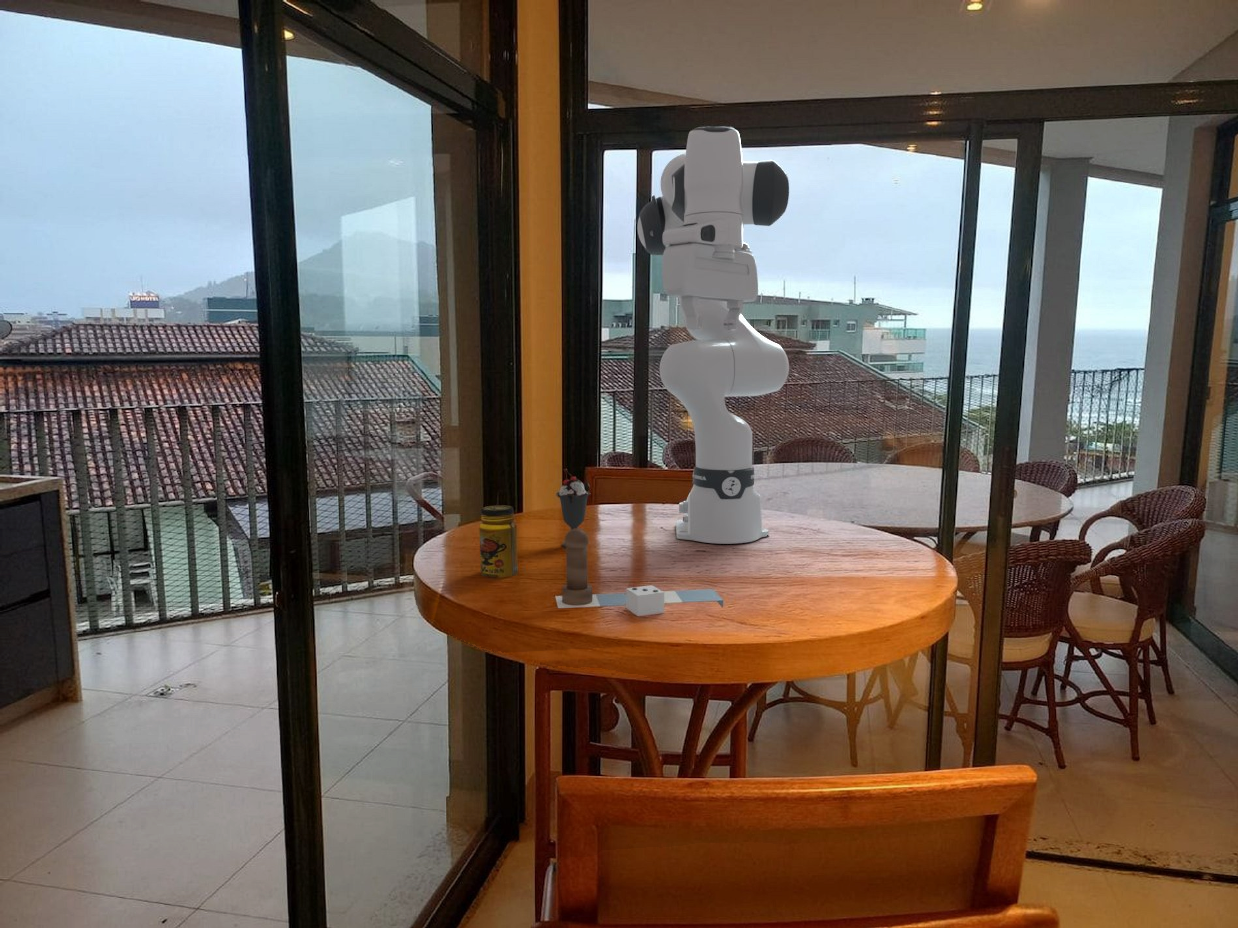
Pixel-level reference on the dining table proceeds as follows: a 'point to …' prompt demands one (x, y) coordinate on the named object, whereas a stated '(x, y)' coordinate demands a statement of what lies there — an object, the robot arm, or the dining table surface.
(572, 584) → the pawn
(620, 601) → the board
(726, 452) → the robot arm
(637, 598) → the die
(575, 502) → the sundae
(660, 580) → the dining table surface
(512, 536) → the condiment
